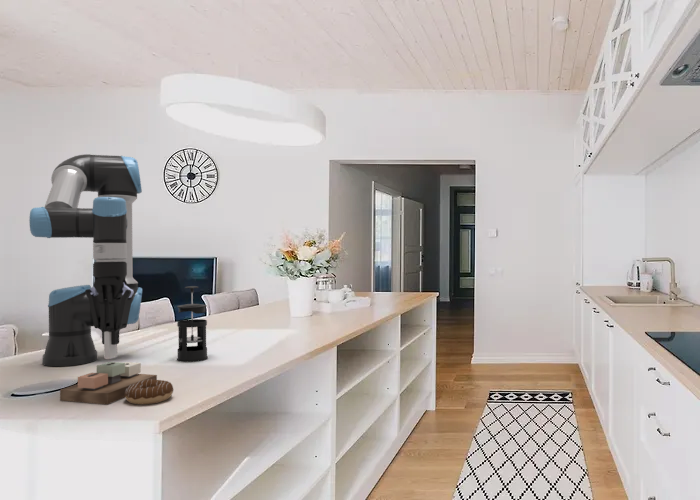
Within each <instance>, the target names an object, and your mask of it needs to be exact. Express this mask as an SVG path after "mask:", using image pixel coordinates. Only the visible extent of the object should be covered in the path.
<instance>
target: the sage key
mask: <svg viewBox="0 0 700 500" xmlns="http://www.w3.org/2000/svg"><path fill="white" fill-rule="evenodd" d="M96 373H105V374H108V377H113V376H116V375H119V374H122V373H125V362H115V361H107V362H105V363H101V364H97V365H96Z"/></svg>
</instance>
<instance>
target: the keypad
mask: <svg viewBox="0 0 700 500" xmlns="http://www.w3.org/2000/svg"><path fill="white" fill-rule="evenodd" d="M143 380H158V375H157V374H149V373H147V374H145V373H137V374H135V375H132V376H120V374H119V375H116V376H113V377H108V384H106V385H103V386H101V387H98V388H95V389H91V388H78V383H77V384H73V385H70V386H67V387H64V388H61V389H60V390H59V396H60V397H59V398H60V399H59V400H60V402H61V401H62V402H63V401H64V402H74V403H85V404H86V403H87V404H95V405H96V404H98V405H106V406H107V405H110V404H112V403H116V402H118V401H120V400H122V399H126V397H125V395H124V394H125V391H126V389H127V388H128V387H129V386H130V385H132V384H134V383H137V382H139V381H143Z"/></svg>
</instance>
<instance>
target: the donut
mask: <svg viewBox="0 0 700 500" xmlns="http://www.w3.org/2000/svg"><path fill="white" fill-rule="evenodd" d="M173 393H174V386H173V384H172V383H171V382H170V381H168V380H164V379H163V380H161V379H157V380H143V381H139V382H137V383H134V384H132V385H130V386H129V387H128V388H127V389H126V391H125V394H124V395H125V399H126V400H127V402H128V403H130V404H133V405H138V406H139V405H143V406H145V405H152V404H158V403H162V402H164V401H167V400H169V398H171V396H172V395H173Z"/></svg>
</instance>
